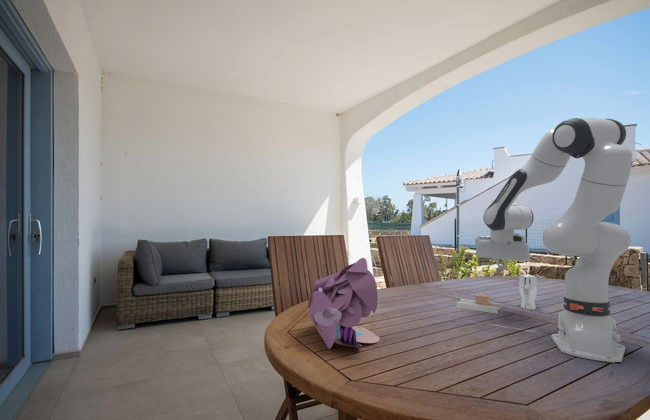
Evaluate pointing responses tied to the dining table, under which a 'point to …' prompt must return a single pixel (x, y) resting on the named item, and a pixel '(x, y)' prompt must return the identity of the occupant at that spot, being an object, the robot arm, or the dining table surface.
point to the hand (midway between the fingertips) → (502, 269)
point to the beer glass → (528, 291)
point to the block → (483, 299)
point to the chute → (478, 306)
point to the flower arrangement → (344, 305)
